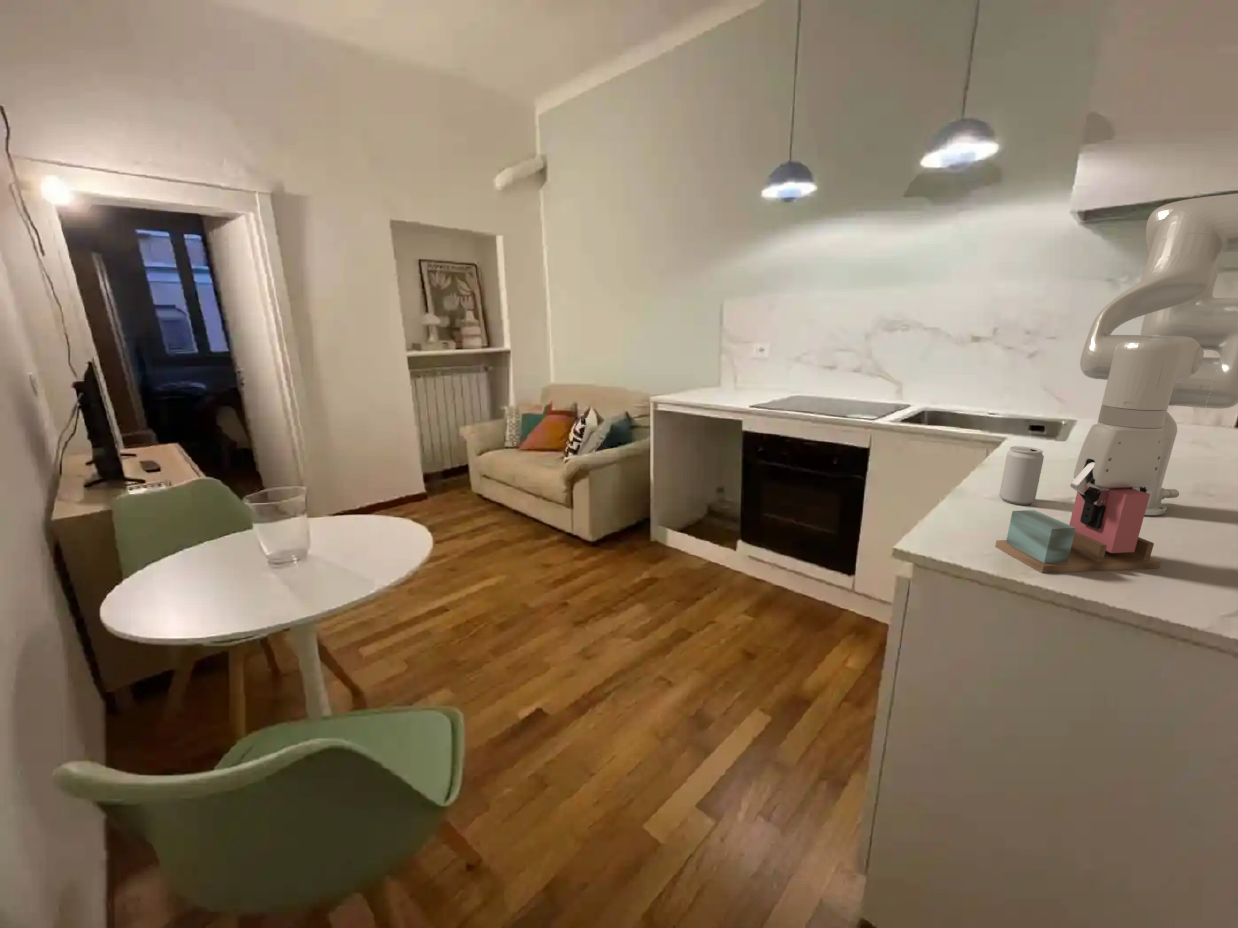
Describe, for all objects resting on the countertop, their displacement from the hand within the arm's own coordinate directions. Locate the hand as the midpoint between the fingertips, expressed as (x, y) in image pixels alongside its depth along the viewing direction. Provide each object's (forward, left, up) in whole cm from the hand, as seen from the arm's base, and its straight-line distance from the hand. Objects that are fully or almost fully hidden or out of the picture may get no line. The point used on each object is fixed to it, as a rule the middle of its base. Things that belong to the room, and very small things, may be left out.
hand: (1103, 524), depth 88 cm
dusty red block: (0, 0, -3) cm, 3 cm away
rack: (+4, 0, -6) cm, 7 cm away
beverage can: (-8, -27, -6) cm, 29 cm away
